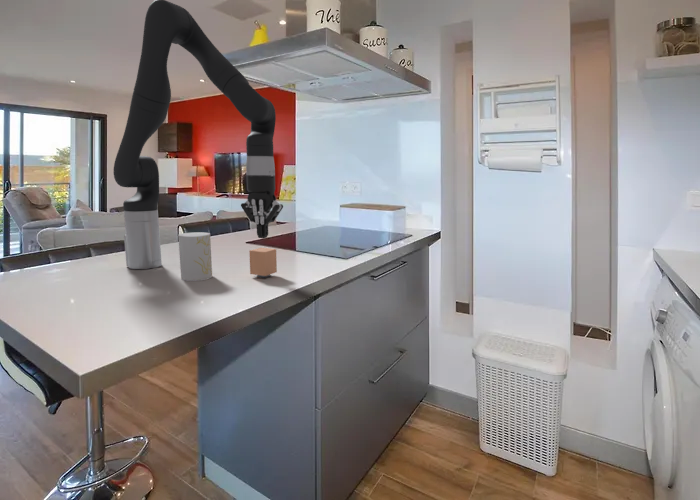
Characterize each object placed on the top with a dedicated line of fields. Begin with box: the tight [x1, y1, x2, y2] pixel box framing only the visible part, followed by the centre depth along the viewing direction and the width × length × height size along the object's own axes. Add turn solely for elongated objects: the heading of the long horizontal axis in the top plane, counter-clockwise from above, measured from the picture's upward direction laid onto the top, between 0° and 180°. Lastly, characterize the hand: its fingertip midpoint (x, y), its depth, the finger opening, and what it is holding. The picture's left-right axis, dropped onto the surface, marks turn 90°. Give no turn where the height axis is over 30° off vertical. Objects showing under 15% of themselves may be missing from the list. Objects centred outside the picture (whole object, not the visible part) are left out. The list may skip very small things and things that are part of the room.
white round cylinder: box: [177, 231, 213, 282], centre depth 116 cm, size 8×8×12 cm
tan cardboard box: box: [249, 247, 278, 276], centre depth 118 cm, size 5×5×7 cm
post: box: [256, 274, 271, 279], centre depth 118 cm, size 3×3×7 cm
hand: (262, 237), depth 116 cm, fingers closed
